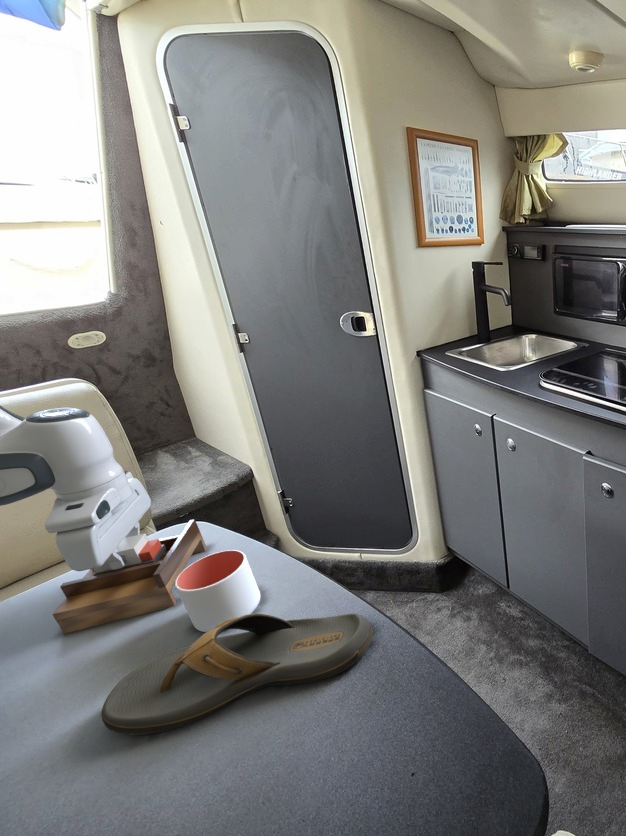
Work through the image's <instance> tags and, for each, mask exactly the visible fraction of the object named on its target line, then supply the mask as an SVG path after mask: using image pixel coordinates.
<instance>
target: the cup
mask: <svg viewBox="0 0 626 836" xmlns="http://www.w3.org/2000/svg"><path fill="white" fill-rule="evenodd" d="M251 568H252V567H251V566H250V563H249V561H248V558H247V556H246V554H245V552H243V551H241V550H237V549H228V550H221V551H217V552H214V553H211V554H208V555H206V556H204V557H201V558H200V559H198V560H195V561H194V562H192V563H191V564H189V565H188V566H187V567H185V568H183V570H182V571H181V573H180V574H179V576H178V577H177V579H176V581H175V583H174V587H175V589H176V591H177V593H178V595H179V598H180V600H181V602H182V604H183V606H184V609H185V611H186V612H187V615H188V618H189V620H190V621H191V624H192V625H193V627H194V628H195V629H196V630H197V631H200V632H203V633H206V632H208V631H210V630H212V629H214V628H215V627H216V626H217V625H218V624H220V623H222V622H224V621H226V620H229V619H232V618H237V617H241V616H244V615H249V614H253V612H254V611H255V610H256V609H257V607H258V606H259V604H260V601H261V591H260V588H259V586H258V584H257V581H256V578H255V576H254V573H253V571H252V569H251Z"/></svg>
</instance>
